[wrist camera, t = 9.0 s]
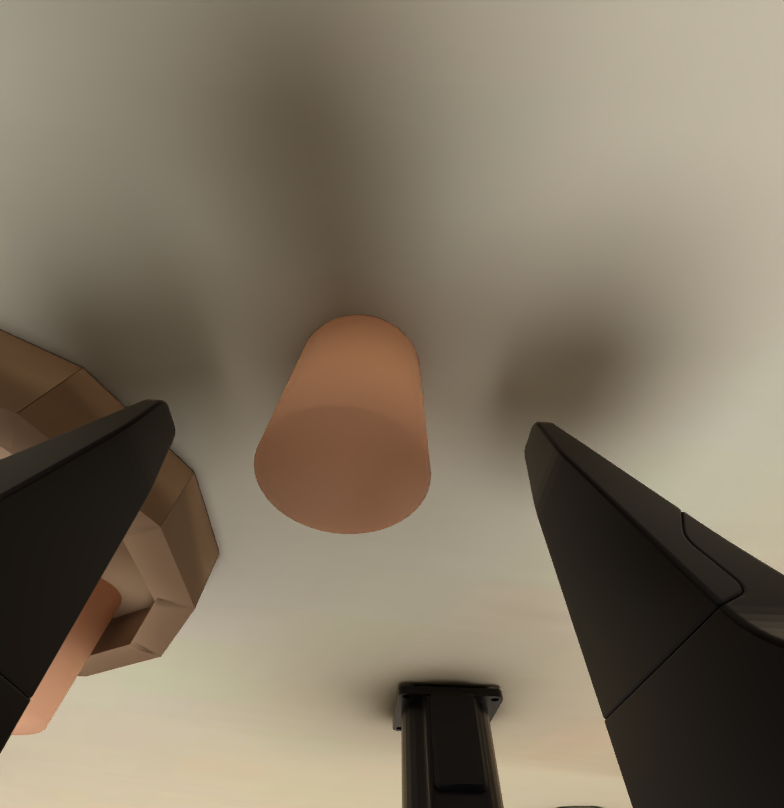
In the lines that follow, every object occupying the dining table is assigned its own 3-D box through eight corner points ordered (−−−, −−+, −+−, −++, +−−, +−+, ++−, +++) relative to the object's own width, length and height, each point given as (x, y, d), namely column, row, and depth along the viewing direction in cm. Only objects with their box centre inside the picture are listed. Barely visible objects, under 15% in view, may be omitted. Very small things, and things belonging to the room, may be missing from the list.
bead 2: (414, 422, 13) (421, 537, 9) (305, 416, 13) (265, 529, 9) (426, 319, 11) (441, 410, 7) (296, 311, 11) (241, 398, 7)
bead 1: (54, 611, 18) (-37, 733, 14) (17, 565, 16) (-100, 693, 12) (132, 614, 18) (63, 736, 14) (105, 569, 16) (16, 697, 12)
